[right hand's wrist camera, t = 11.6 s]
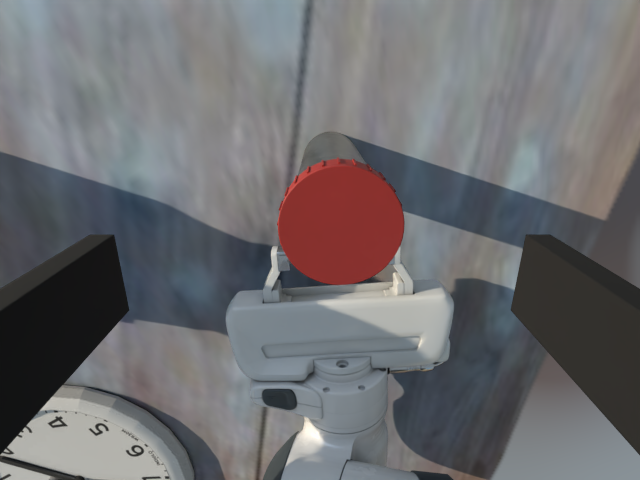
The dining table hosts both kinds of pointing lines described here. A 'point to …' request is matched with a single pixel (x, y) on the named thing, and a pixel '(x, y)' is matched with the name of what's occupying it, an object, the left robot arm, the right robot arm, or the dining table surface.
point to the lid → (340, 222)
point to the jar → (329, 150)
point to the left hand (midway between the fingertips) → (334, 244)
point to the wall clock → (94, 442)
